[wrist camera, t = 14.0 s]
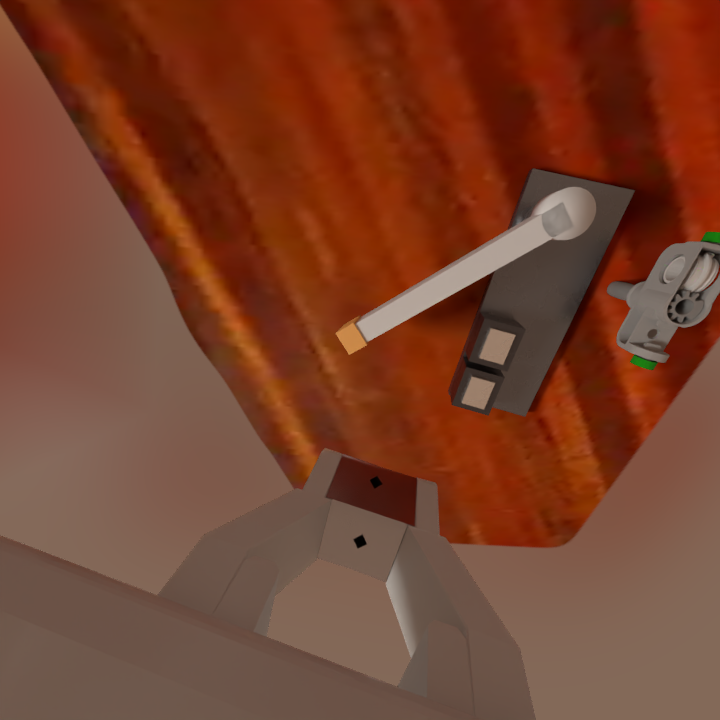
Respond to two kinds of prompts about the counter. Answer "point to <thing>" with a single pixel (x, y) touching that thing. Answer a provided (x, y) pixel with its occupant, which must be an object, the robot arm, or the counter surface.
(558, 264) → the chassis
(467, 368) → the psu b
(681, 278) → the mechanical component
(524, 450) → the counter surface
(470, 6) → the counter surface
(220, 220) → the counter surface
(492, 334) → the block
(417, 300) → the lever
